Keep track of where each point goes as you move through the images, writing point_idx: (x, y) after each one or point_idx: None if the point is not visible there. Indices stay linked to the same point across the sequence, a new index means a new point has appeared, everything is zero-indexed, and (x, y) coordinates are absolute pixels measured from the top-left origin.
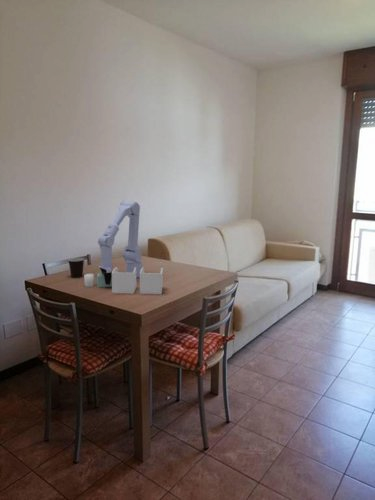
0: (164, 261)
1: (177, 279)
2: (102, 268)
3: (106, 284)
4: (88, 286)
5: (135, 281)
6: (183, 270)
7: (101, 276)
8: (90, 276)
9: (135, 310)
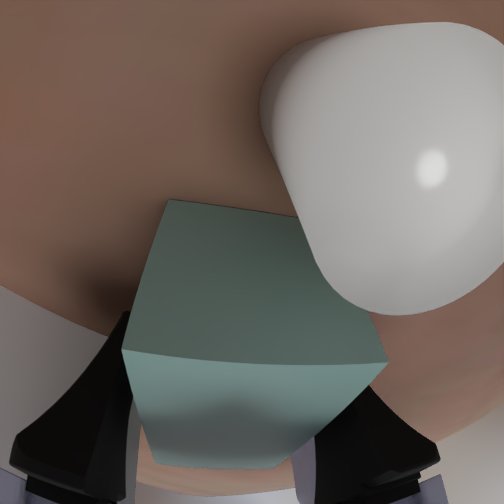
0: None
1: (191, 474)
2: (375, 483)
3: (123, 314)
4: (269, 71)
5: None
6: (282, 482)
7: (134, 388)
8: (302, 176)
9: None
